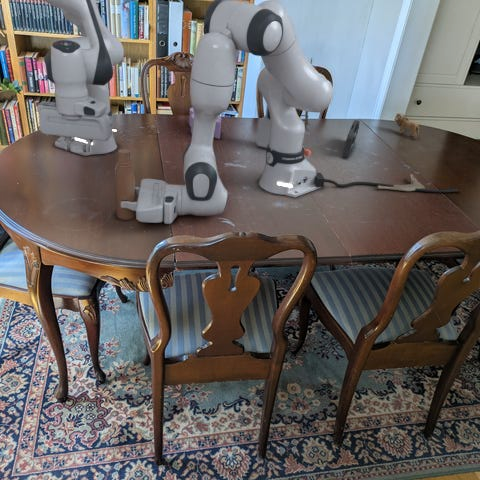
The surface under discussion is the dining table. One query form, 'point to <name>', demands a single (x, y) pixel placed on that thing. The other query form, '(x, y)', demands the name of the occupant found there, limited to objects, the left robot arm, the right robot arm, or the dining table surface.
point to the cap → (77, 146)
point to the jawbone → (405, 187)
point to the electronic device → (264, 131)
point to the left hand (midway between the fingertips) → (78, 151)
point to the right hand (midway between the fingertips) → (122, 198)
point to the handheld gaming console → (351, 139)
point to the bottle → (124, 184)
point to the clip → (217, 126)
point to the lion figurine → (406, 124)
